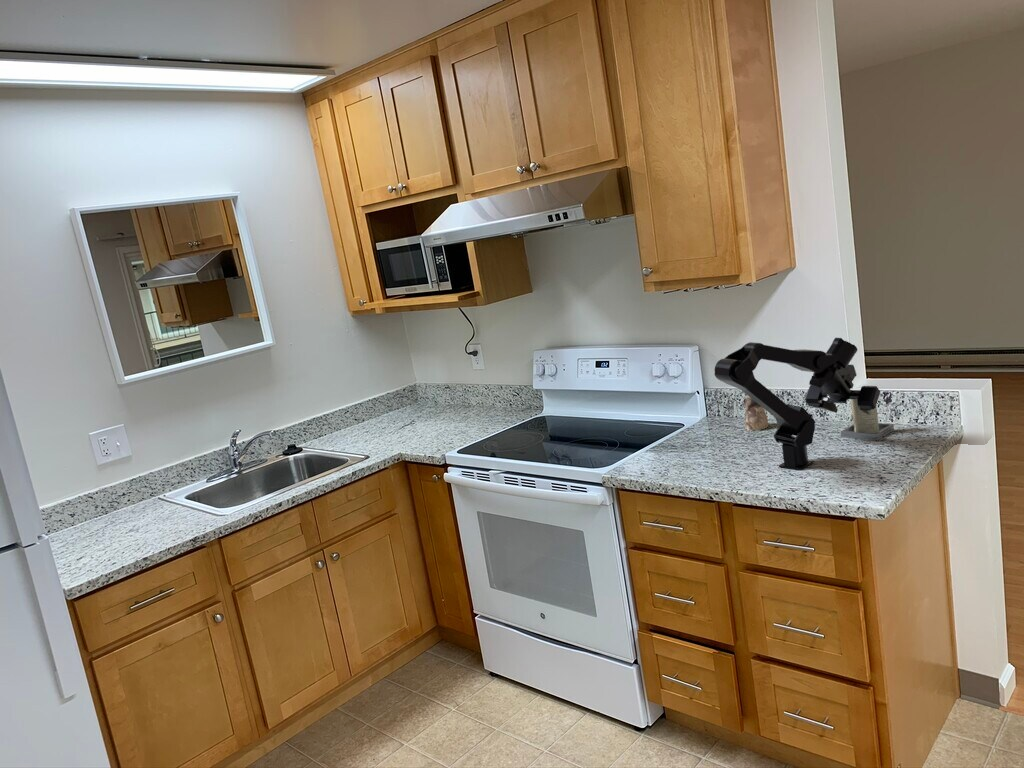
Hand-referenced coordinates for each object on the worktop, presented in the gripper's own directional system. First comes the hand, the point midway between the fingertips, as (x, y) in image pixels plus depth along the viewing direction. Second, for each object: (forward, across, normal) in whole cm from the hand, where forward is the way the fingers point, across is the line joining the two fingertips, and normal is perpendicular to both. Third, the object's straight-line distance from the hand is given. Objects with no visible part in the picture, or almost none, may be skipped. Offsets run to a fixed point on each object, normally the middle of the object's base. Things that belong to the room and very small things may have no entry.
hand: (852, 412), depth 213 cm
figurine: (+9, +33, +3) cm, 35 cm away
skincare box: (+10, -1, +1) cm, 10 cm away
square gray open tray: (+10, -1, +1) cm, 10 cm away
